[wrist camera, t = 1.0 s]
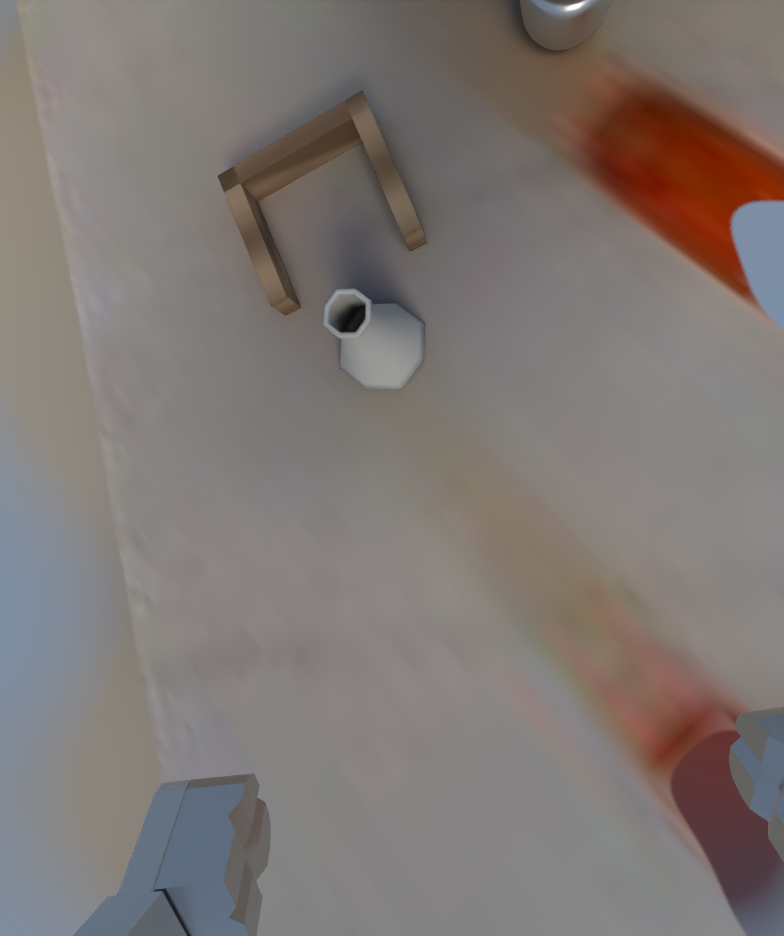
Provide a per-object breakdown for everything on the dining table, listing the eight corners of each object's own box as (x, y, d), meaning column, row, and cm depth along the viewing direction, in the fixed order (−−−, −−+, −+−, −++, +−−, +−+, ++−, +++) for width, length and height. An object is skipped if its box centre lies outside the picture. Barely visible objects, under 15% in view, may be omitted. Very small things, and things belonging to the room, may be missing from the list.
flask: (357, 291, 43) (314, 240, 34) (440, 317, 42) (420, 272, 32) (327, 375, 44) (276, 350, 34) (408, 404, 43) (379, 386, 33)
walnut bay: (236, 194, 46) (217, 175, 43) (372, 115, 43) (362, 90, 40) (285, 315, 45) (269, 305, 42) (427, 242, 42) (421, 226, 39)
